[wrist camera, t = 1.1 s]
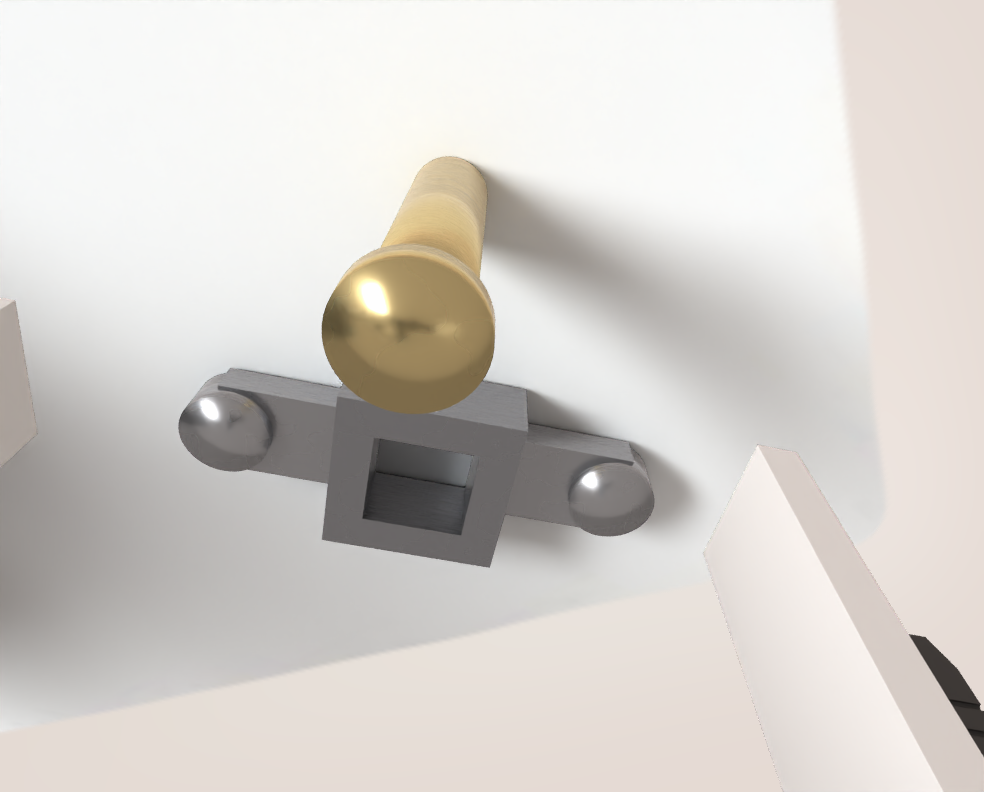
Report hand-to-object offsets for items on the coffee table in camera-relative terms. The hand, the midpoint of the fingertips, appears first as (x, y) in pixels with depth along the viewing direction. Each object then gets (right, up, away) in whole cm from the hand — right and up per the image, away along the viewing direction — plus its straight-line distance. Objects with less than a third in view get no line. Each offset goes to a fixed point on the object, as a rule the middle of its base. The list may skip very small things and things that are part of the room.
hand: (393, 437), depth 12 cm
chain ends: (-1, -2, +21) cm, 21 cm away
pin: (0, +9, +14) cm, 17 cm away
